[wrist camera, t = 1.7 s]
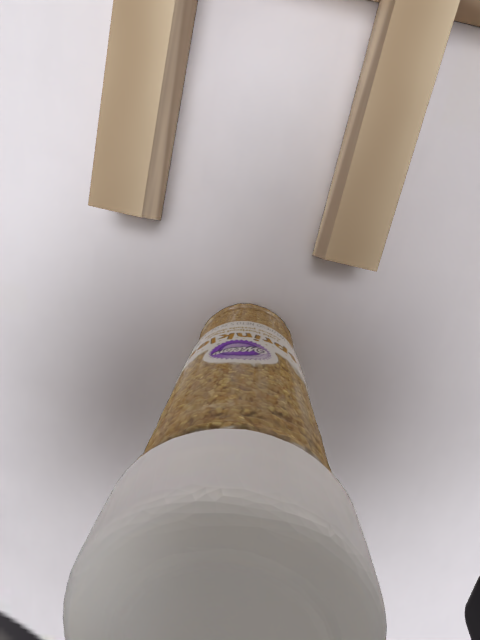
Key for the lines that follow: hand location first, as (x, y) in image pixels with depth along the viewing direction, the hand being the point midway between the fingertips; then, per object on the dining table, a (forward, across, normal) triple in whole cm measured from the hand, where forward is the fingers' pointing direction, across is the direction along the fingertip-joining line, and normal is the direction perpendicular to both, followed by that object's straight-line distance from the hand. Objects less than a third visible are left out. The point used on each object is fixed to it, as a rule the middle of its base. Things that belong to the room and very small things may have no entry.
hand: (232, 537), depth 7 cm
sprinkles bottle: (+12, 0, 0) cm, 12 cm away
